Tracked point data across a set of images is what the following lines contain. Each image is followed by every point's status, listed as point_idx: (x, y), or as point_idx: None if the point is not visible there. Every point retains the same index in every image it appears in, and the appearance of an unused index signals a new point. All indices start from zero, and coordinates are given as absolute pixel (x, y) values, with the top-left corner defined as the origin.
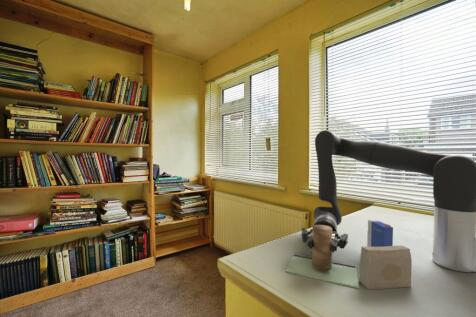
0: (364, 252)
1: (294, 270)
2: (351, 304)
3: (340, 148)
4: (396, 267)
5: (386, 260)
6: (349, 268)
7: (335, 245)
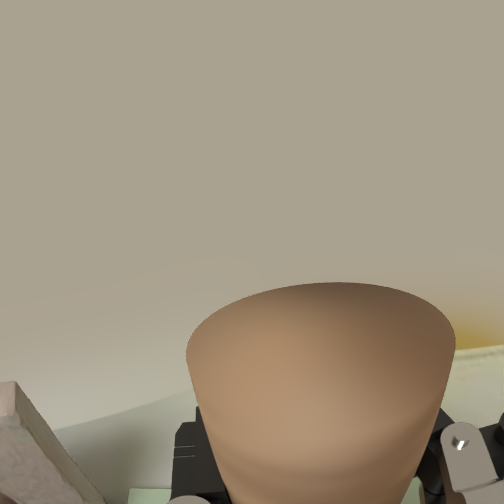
0: (28, 410)
1: None
2: (172, 416)
3: None
4: None
5: None
6: None
7: (187, 429)
